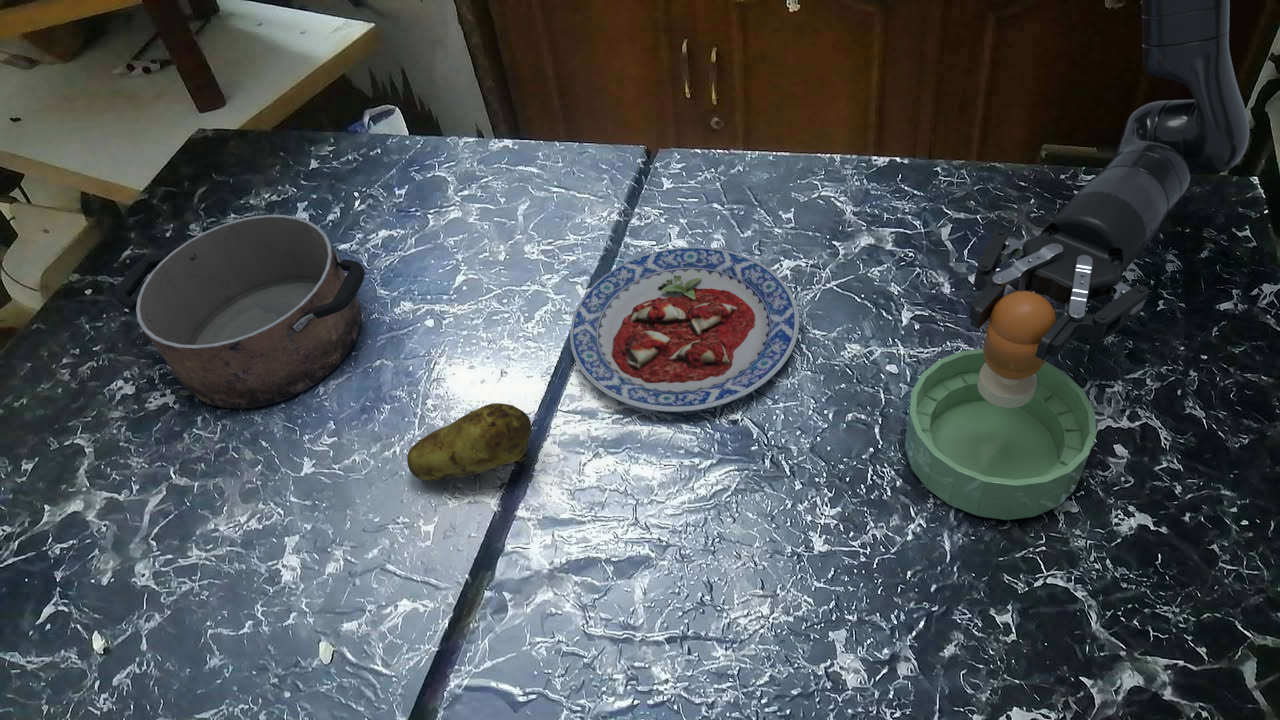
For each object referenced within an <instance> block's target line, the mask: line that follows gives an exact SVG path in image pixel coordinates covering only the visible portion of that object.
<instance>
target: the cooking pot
mask: <svg viewBox="0 0 1280 720" xmlns="http://www.w3.org/2000/svg"><path fill="white" fill-rule="evenodd" d="M151 270H152V271H151ZM345 272H347V273H345ZM365 275H366V271H365V269H364V267H363V265H362V264H361V263H360V262H358V261H357V260H352V259H346V258H343V259H341V256H340V254H338V252H335V250H334V247H333V246H332V244H331V242H330V239H329V237H328V235H327V234H326V233H325V232H324V230H323V229H322V228H321V227H319V225H317V224H315V223H313V222H311V221H310V220H307V219H304V218H301V217H298V216H292V215H286V214H265V215H264V214H263V215H256V216H249V217H244V218H240V219H236V220H233V221H230V222H226V223H223V224H220V225H218V226H215V227H213V228H211V229H208V230H206V231H204V232H202V233H200V234H198V235H197V236H194V237H193V238H191V239H189V240H187V241H186V242H185V243H183V244H181V245H180V246H178V247H177V248H176V249H174V250H173V251H172V252H171V253H169V254H163V255H162V254H161V255H151V256H148V257H145V258H143V259H141V260H140V261H138V262H137V263H136V264H135V265H134V266H133V267H132V268H131V269H130V270H129V271H128V273H126V275H125V276H124V278H123V279H122V280H121V282H119V284H118V286H117V288H116V290H115V293H114V296H115V300H116V301H117V302H118V303H119V304H120V305H122V306H123V307H125V308H127V309H129V310H130V311H133V312H135V313H136V319H137V322H138V324H139V325H140V327H141V329H142V330H143V332H144V333H145V335H146V337H148V339H149V341H151V343H152V344H153V346H154V347H155V348H156V350H157V352H158V353H159V354H160V356H161V357H162V358H163V360H164V361H165V362H166V364H167V365H168V366H169V368H170V369H171V371H172V372H173V373H174V374H175V376H176V377H177V379H178V381H180V383H181V384H182V385H183V387H184V388H185V389H186V390H187V391H188V392H189V393H190V394H191V395H192V396H194V398H196V399H197V400H198V401H199V400H200V401H201V402H203V403H205V404H207V405H211V406H215V407H219V408H223V409H225V408H226V409H241V410H242V409H243V410H244V409H251V408H252V409H254V408H261V407H266V406H269V405H273V404H277V403H280V402H282V401H285V400H288V399H290V398H293V397H295V396H297V395H299V394H301V393H303V392H306V391H307V390H309V389H310V388H312V387H314V386H315V385H317V384H318V383H319V382H321V381H322V380H324V379H325V378H326V377H327V376H328V375H330V373H332V372H333V371H334V370H336V369H337V367H338V366H339V365H340V364H341V363H342V361H344V360H345V358H346V357H347V356H348V354H349V352H350V351H351V349H352V348H353V346H354V344H355V343H356V340H357V338H358V335H359V333H360V330H361V323H362V312H361V306H360V302H359V301H358V298H357V293H358V292H359V291H360V289H361V286H362V284H363V282H364V279H365ZM146 277H147V278H146ZM145 279H146V280H145ZM144 280H145V281H144ZM143 281H144V283H143V284H142V282H143ZM141 284H142V286H141V288H140V291H139V294H138V296H137V299H134V298H131V297H132V296H133V295H134V294H135V292H136V291H137V289H138V288H139V287H140V285H141Z"/></svg>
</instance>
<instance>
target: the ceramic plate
mask: <svg viewBox="0 0 1280 720" xmlns="http://www.w3.org/2000/svg"><path fill="white" fill-rule="evenodd" d="M799 313H800V312H799V309H798V304H797V302H796V299H795V297H794V295H793V293H792V291H791V289H790V288H789V286H788V285H787V284H786V283H785V281H784V280H783V279H782V278H781V276H779V275H778V274H777V273H776V272H774V270H772V269H770V268H769V267H768V266H766V265H764V264H763V263H761V262H759V261H758V260H756V259H755V258H752V257H749V256H748V255H744V254H740V253H738V252H734V251H730V250H727V249H722V248H716V247H715V248H714V247H708V246H707V247H705V246H686V247H685V246H684V247H673V248H667V249H662V250H661V249H660V250H657V251H656V250H655V251H652V252H649V253H645V254H644V255H641V256H638V257H635V258H633V259H630V260H627V261H625V262H624V263H622V264H620V265H618V266H617V267H615V268H614V269H612V270H610V271H609V272H607V273H606V274H605V275H603V276H602V277H601V278H600V279H598V280H597V281H596V282H595V283H594V284H593V285H592V286H591V287H590V288H589V289H588V290H587V292H586V293H585V294H584V296H583V297H582V298H581V300H580V302H579V303H578V305H577V307H576V309H575V312H574V313H573V317H572V319H571V324H570V331H569V332H570V334H569V337H570V348H571V351H572V355H573V358H574V361H575V362H576V364H577V366H578V368H579V370H580V371H581V372H582V374H583V376H585V378H586V379H587V380H588V381H589V382H590V383H591V384H592V385H594V387H596V388H597V389H599V390H600V391H601V392H603V394H606V395H607V396H609V397H611V398H613V399H615V400H617V401H620V402H622V403H623V404H626V405H629V406H633V407H636V408H640V409H645V410H650V411H657V412H669V413H670V412H672V413H673V412H674V413H680V412H694V411H700V410H706V409H710V408H714V407H719V406H722V405H725V404H729V403H731V402H733V401H736V400H738V399H741V398H744V396H747V395H749V394H751V393H752V392H754V391H755V390H757V389H758V388H760V387H762V386H763V385H765V383H767V382H768V381H769V380H771V379H772V378H773V377H774V376H775V375H776V374H777V373H778V372H779V371H780V370H781V369H782V368H783V367H784V364H785V363H786V362H787V361H788V359H789V357H790V356H791V355H792V353H793V350H794V348H795V346H796V342H797V338H798V335H799V330H800V314H799Z"/></svg>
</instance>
